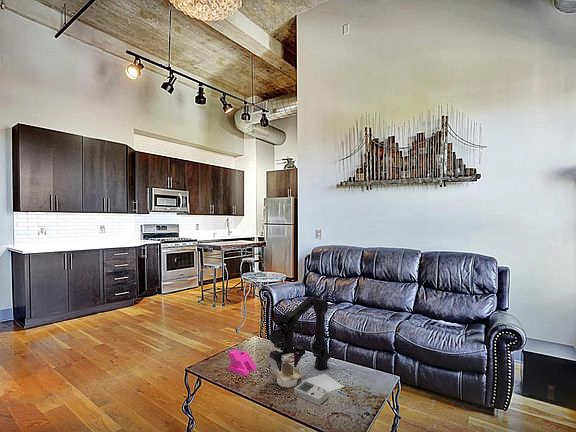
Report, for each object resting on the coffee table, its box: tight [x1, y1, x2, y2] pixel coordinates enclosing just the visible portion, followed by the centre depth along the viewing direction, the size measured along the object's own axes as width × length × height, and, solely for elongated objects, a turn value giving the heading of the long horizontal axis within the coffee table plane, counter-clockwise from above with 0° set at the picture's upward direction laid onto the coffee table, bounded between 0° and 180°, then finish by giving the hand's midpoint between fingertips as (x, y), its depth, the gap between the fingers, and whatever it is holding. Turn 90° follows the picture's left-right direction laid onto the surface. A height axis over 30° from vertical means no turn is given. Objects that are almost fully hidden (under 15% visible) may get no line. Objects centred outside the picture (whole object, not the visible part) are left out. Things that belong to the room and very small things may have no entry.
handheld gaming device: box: [293, 379, 329, 406], centre depth 156 cm, size 9×15×4 cm, turn 50°
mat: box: [300, 373, 345, 393], centre depth 168 cm, size 16×16×1 cm
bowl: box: [276, 376, 299, 388], centre depth 169 cm, size 10×10×4 cm
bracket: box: [228, 349, 258, 377], centre depth 183 cm, size 12×10×10 cm
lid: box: [271, 362, 304, 382], centre depth 169 cm, size 12×12×5 cm
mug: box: [266, 345, 285, 372], centre depth 184 cm, size 8×12×12 cm, turn 47°
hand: (287, 369), depth 169 cm, fingers open, 9 cm apart
